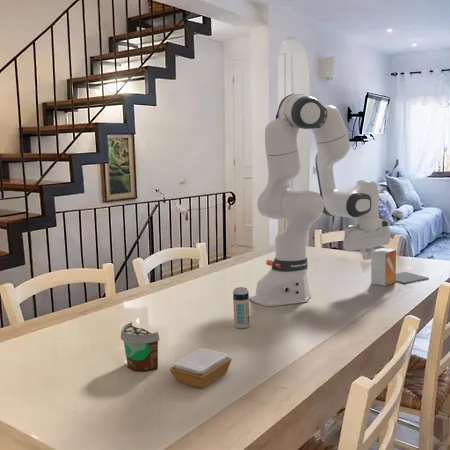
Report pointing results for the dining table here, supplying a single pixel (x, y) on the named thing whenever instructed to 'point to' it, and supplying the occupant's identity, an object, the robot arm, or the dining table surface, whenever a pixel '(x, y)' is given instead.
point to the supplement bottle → (241, 307)
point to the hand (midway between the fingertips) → (366, 259)
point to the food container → (140, 348)
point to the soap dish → (200, 367)
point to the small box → (383, 266)
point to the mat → (408, 278)
